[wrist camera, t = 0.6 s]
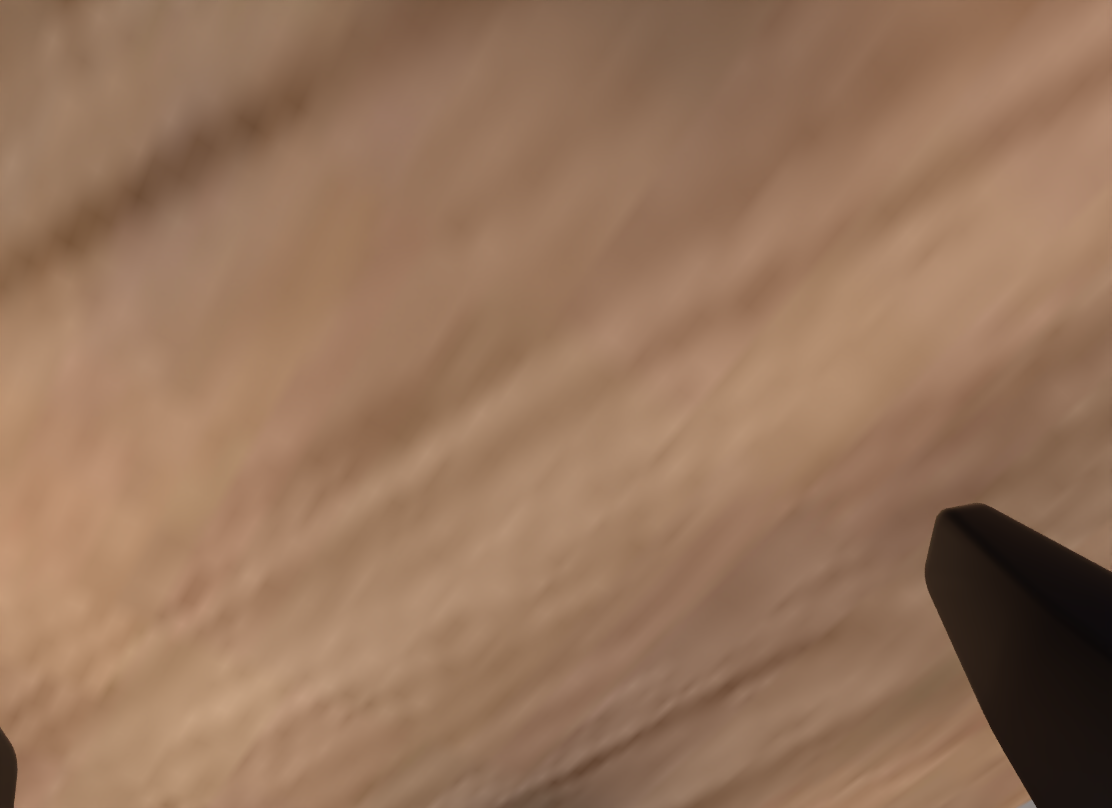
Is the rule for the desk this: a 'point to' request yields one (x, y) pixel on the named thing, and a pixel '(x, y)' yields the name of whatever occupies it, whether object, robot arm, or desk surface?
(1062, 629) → the robot arm
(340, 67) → the desk surface
